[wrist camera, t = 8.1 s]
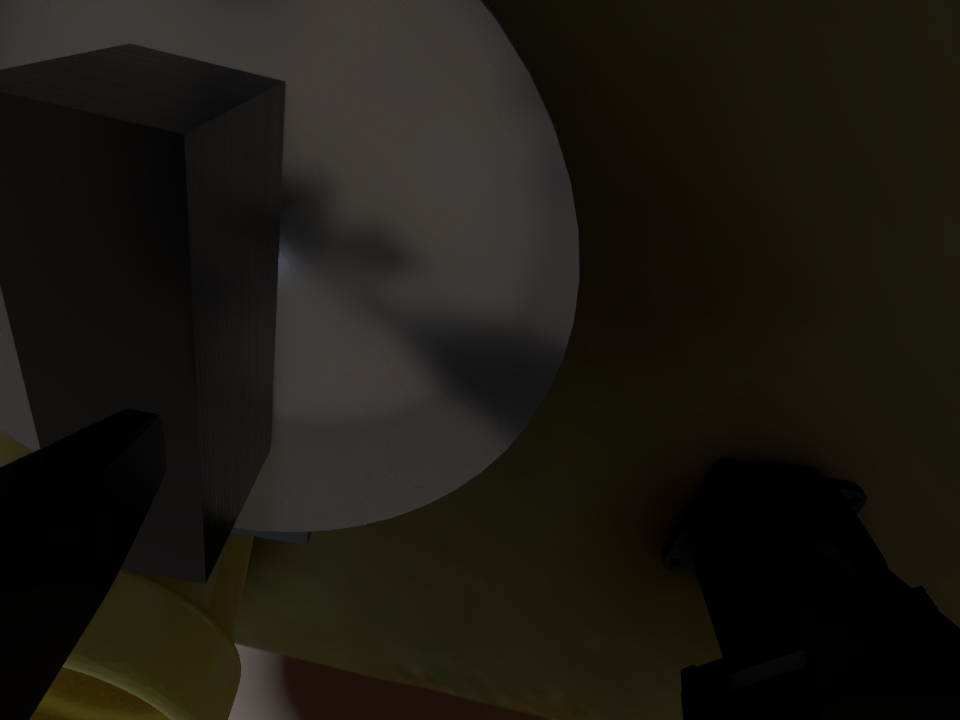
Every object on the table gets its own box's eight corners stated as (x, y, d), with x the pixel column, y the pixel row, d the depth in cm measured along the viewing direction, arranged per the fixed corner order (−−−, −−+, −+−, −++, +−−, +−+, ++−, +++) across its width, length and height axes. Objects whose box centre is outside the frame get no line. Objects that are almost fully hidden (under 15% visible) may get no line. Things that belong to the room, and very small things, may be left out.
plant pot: (43, 399, 24) (-197, 625, 16) (303, 450, 25) (205, 687, 17) (77, 562, 29) (-86, 790, 21) (288, 598, 30) (209, 829, 22)
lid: (487, 536, 17) (481, 712, 13) (-33, 443, 16) (-218, 607, 12) (688, -44, 9) (826, -52, 5) (-287, -318, 8) (-1068, -600, 4)
